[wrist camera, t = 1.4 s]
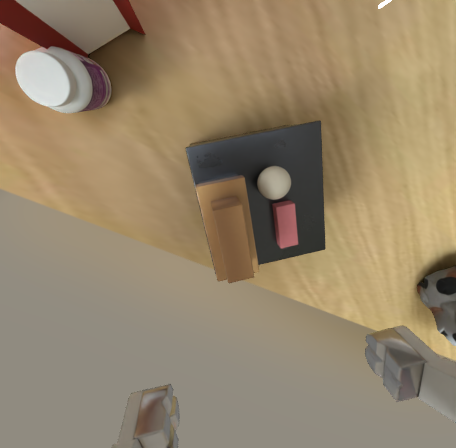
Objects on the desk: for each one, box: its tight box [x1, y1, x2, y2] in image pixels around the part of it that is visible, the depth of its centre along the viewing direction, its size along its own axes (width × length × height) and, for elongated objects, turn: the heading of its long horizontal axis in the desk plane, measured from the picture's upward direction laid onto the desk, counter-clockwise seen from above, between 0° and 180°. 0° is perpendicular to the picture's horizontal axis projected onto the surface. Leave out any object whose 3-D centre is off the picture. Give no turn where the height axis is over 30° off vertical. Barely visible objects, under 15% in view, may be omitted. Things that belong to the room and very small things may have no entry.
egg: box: [257, 166, 291, 200], centre depth 23 cm, size 3×3×3 cm
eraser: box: [272, 200, 298, 248], centre depth 26 cm, size 5×2×1 cm, turn 10°
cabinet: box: [186, 121, 325, 274], centre depth 30 cm, size 14×14×10 cm
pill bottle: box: [15, 46, 111, 113], centre depth 24 cm, size 5×5×10 cm
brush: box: [196, 174, 259, 283], centre depth 23 cm, size 4×10×6 cm, turn 10°
